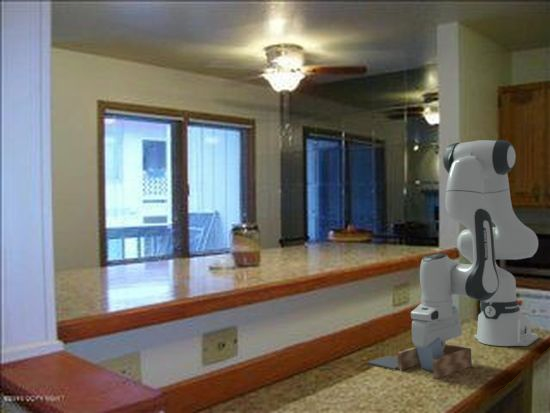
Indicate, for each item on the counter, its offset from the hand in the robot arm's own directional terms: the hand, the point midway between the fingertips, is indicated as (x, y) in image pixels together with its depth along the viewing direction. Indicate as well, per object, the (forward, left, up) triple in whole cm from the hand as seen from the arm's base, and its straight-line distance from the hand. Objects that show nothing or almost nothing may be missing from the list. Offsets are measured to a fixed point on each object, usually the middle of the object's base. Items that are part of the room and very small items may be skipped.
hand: (439, 356), depth 166 cm
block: (+3, 0, -2) cm, 3 cm away
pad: (+7, -12, -3) cm, 14 cm away
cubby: (+3, 0, -3) cm, 4 cm away
